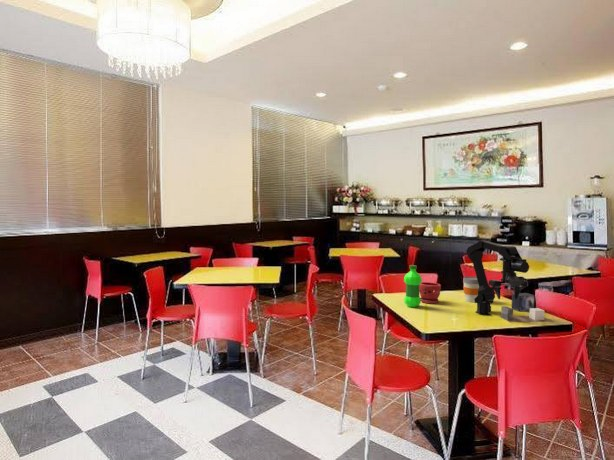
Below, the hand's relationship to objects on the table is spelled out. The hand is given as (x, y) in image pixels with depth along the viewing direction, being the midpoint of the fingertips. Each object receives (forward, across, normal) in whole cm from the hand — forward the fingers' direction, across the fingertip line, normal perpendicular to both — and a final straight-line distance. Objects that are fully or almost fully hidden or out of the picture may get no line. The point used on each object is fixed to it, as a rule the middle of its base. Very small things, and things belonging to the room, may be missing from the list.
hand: (507, 299), depth 215 cm
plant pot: (+12, -24, +46) cm, 53 cm away
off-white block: (+11, +16, 0) cm, 20 cm away
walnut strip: (+12, +10, 0) cm, 16 cm away
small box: (+12, +20, +19) cm, 30 cm away
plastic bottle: (+12, -40, +35) cm, 54 cm away
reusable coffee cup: (+12, +5, +47) cm, 49 cm away
